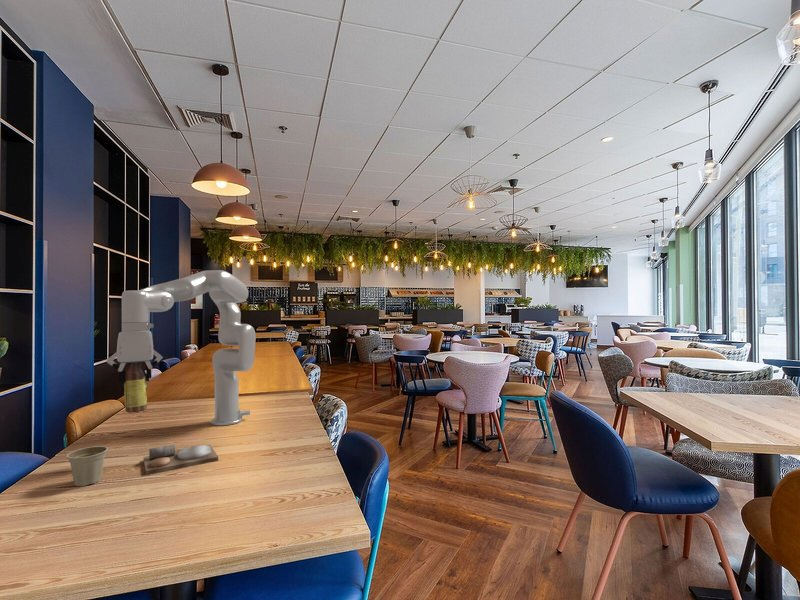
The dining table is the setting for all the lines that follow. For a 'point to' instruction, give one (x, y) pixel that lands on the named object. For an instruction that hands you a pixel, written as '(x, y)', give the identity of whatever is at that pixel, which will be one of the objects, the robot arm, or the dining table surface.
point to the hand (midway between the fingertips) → (135, 381)
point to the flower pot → (87, 464)
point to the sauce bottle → (135, 388)
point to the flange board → (177, 458)
